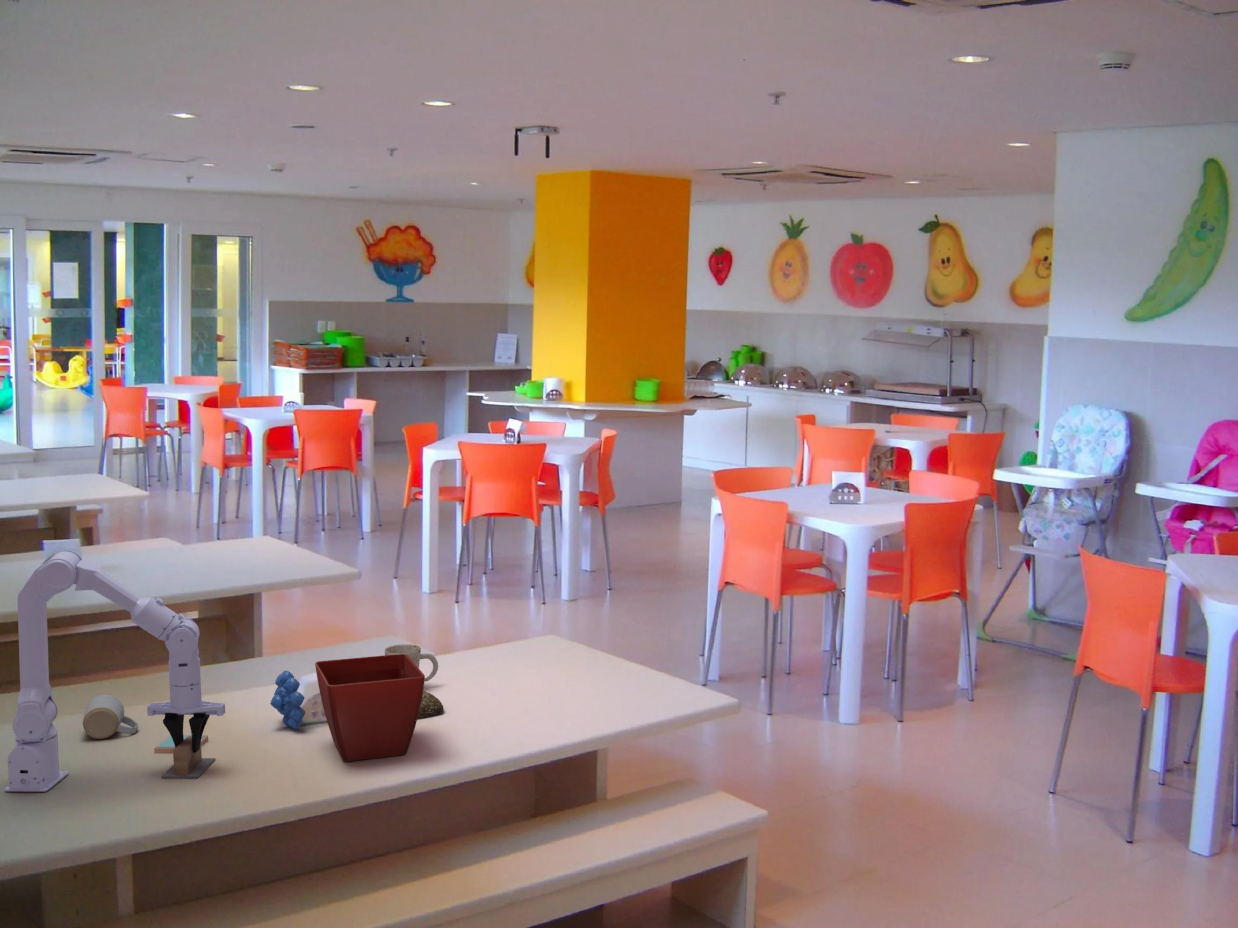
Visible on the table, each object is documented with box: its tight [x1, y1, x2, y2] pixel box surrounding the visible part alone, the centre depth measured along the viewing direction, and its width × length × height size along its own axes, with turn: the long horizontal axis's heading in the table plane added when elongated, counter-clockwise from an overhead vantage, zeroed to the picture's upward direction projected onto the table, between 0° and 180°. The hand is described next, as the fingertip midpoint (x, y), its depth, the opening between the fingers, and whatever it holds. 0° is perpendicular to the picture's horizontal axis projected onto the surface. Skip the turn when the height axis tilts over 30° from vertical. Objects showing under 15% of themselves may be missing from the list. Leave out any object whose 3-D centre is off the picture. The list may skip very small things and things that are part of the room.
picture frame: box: [153, 734, 209, 754], centre depth 258 cm, size 2×8×8 cm
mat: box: [160, 757, 216, 780], centre depth 245 cm, size 10×7×1 cm
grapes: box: [269, 670, 306, 730], centre depth 269 cm, size 12×7×12 cm, turn 37°
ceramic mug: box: [82, 694, 139, 740], centre depth 265 cm, size 11×8×8 cm
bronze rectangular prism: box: [172, 736, 203, 775], centre depth 244 cm, size 8×2×5 cm, turn 179°
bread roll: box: [417, 690, 444, 720], centre depth 281 cm, size 13×12×5 cm
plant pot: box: [314, 654, 426, 762], centre depth 255 cm, size 19×19×17 cm
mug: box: [384, 643, 439, 683], centre depth 297 cm, size 8×13×10 cm, turn 115°
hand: (188, 750), depth 245 cm, fingers open, 2 cm apart
